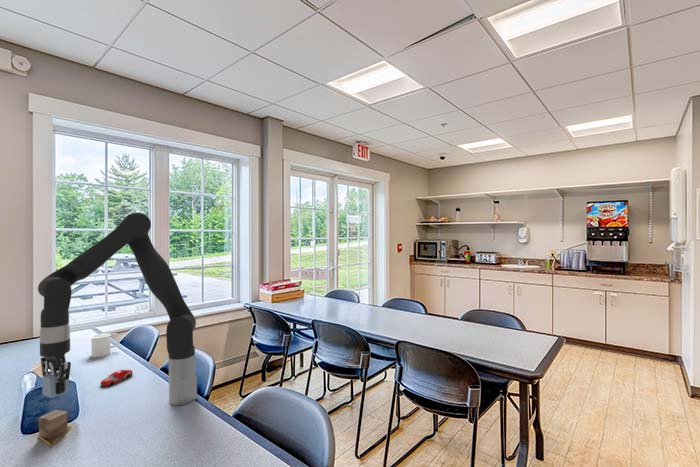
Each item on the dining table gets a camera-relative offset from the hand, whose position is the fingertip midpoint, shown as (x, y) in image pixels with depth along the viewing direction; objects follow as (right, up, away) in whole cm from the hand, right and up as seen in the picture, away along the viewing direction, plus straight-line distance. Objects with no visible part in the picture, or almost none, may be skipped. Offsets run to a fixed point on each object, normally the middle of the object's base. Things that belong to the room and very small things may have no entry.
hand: (55, 391), depth 112 cm
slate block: (0, -1, 0) cm, 1 cm away
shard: (+1, -15, 0) cm, 15 cm away
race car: (-8, -14, +41) cm, 44 cm away
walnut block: (0, -13, -1) cm, 13 cm away
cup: (-37, -14, +75) cm, 85 cm away
